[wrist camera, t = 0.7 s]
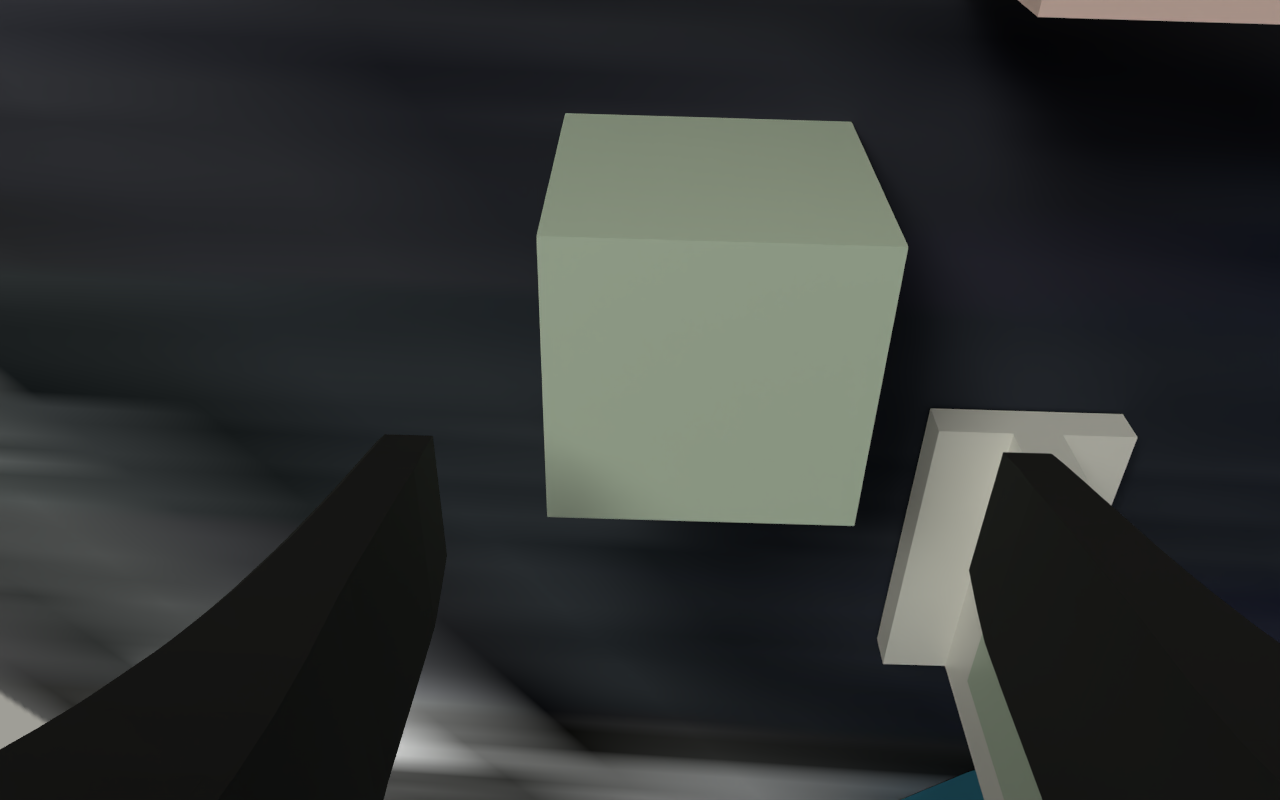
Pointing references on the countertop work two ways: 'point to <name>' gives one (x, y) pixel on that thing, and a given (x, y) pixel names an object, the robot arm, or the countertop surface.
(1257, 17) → the pink cube
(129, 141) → the countertop surface
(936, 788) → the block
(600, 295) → the sage cube
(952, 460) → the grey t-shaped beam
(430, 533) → the robot arm
